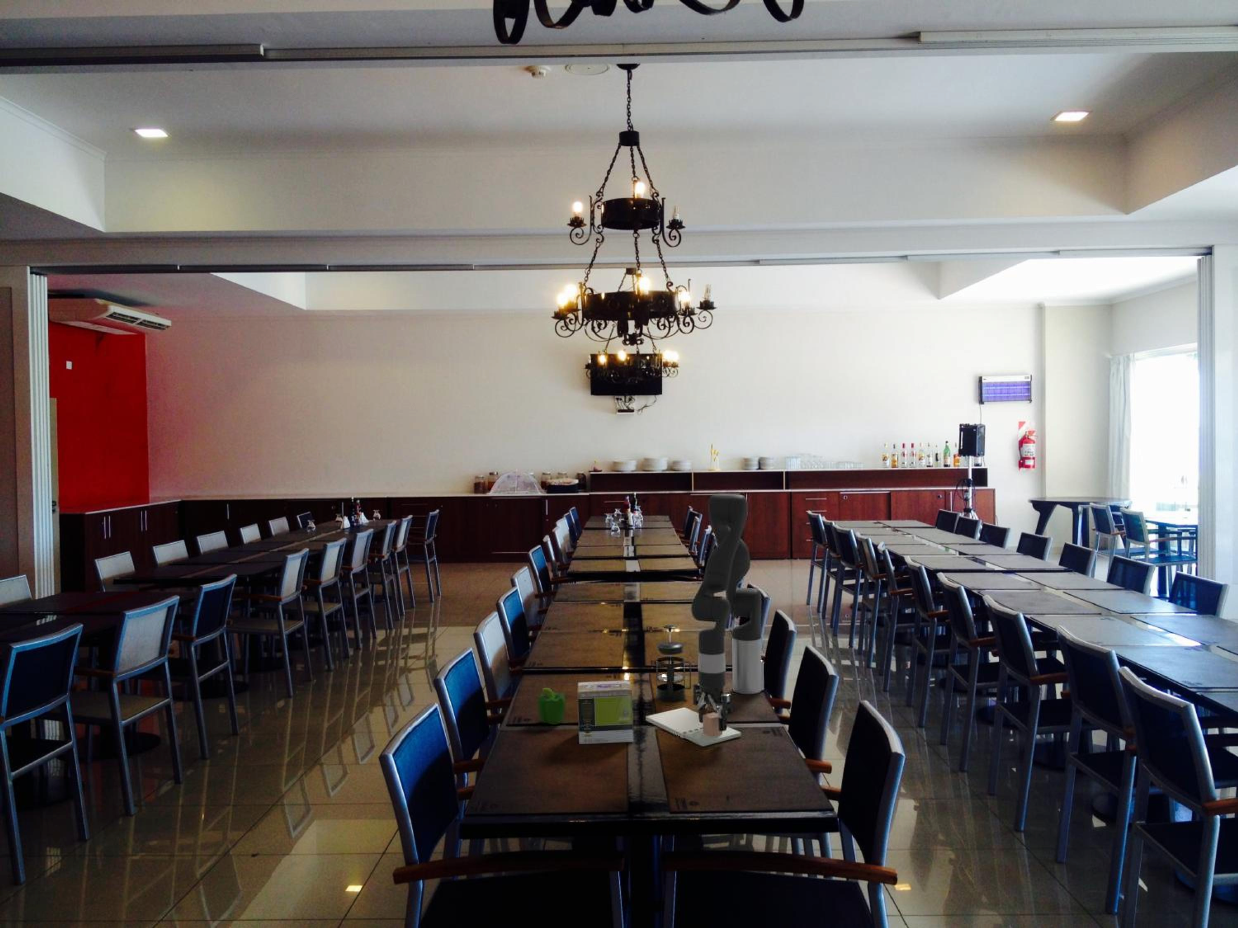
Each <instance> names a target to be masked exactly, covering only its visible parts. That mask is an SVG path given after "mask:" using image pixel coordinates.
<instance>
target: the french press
mask: <svg viewBox="0 0 1238 928" xmlns="http://www.w3.org/2000/svg"><path fill="white" fill-rule="evenodd" d="M663 629H668V633H669V636H668V637H669V639H668V640H669V641H661V642H658V643H655V646H656V648H657V649H658V651H659V653H660V654H661V655H665V656H662V657H659V658H658V657H657V658H656V662H655V663H656V665H655V666H656V669H655V670H656V696H655V698H656V699H657V700H658V701H660V702H663V703H664V702H665V703H678V702H682V701H684V700H685V699H686V697H687V696H686V690H692V675H691V674H692V664H691V663H692V661H691V660H685V658H682V657H680V656H675V655H681V654H682V653H684V647H685V644H684V643H682V642H679V641H671V639H672V637H671V633H672V629H677V626H676V625H675V624H673V625H672V624H666V625H664V626H663ZM666 655H667V656H666ZM665 662H668V663H665ZM675 662H676V663H675ZM677 662H678V663H677ZM686 664H689V686H686V676H685V675H686V671H685V669H686V667H685V665H686ZM658 667H659V668H664V669H666V673H665V674H661V675H658V672H659V670H658ZM682 667H683V675H681V674H678V673H675V669H676V668H682ZM658 681H659V682H661V684H659V683H658ZM681 682H683V684H681Z"/></svg>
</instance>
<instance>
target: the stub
mask: <svg viewBox="0 0 1238 928" xmlns="http://www.w3.org/2000/svg"><path fill="white" fill-rule="evenodd" d="M718 718H719V716H718V714H717V712H711V713H707V714H705V715H703V730H699V731H695V732H691V733H687V734H684V737H685V738H684V739H687V740H689V741H691V742H692V743H694V744H696V745H699V746H701V747H706V746H710V745H713V744H717V743H721V742H724V741H729V740H732V739H735V738H739V737H740V738H741V737H742V733H741V732H740V731H739V730H736V729H734V728H731V727H729V726H727V729H726V731H722V732H721V731H719V726H718Z"/></svg>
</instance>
